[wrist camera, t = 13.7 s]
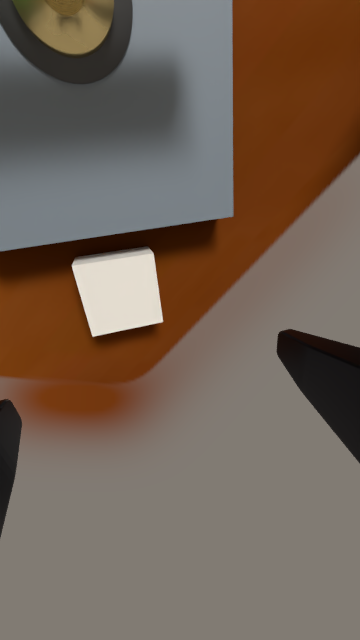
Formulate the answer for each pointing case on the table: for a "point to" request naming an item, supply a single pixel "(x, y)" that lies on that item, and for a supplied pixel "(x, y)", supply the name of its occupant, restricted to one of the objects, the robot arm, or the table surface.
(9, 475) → the robot arm
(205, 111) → the lock plate
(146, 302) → the white square block
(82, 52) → the brass door handle
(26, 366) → the table surface
